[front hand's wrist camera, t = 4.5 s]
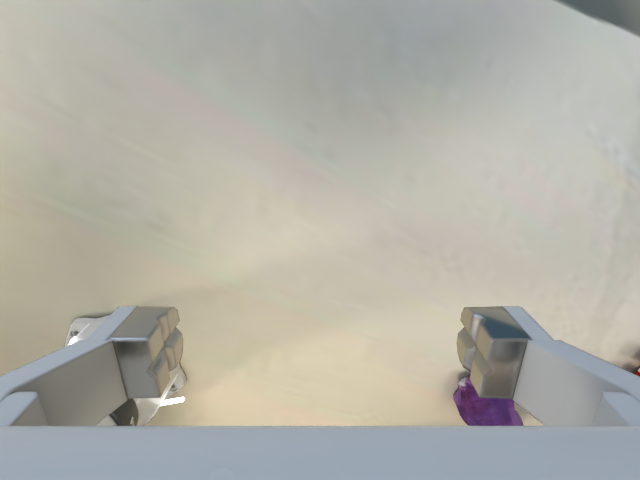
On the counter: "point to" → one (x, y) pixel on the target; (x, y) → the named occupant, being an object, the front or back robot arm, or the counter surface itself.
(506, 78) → the counter surface
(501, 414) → the figurine
